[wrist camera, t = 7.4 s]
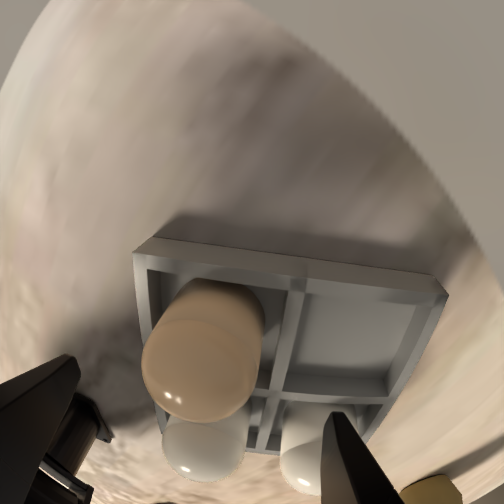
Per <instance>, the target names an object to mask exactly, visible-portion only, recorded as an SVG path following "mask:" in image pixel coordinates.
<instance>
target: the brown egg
mask: <svg viewBox="0 0 504 504" xmlns="http://www.w3.org/2000/svg"><path fill="white" fill-rule="evenodd" d="M264 329H265V313H264V309H263V307H262V305H261V303H260V301H259V299H258V298H257V297H256V296H255V294H254V293H253V292H252V291H251V290H249V289H248V288H247V287H246V286H244V285H243V284H237V283H231V282H224V281H218V280H211V279H205V278H195V279H193V280H191V281H189V282H187V283H186V284H185V285H184V286H182V287H181V289H180V290H179V291H178V293H177V294H176V296H175V297H174V299H173V300H172V302H171V303H170V305H169V306H168V308H167V309H166V311H165V312H164V314H163V315H162V317H161V318H160V320H159V321H158V323H157V325H156V326H155V328H154V329H153V331H152V332H151V334H150V335H149V337H148V339H147V341H146V343H145V346H144V349H143V353H142V360H141V369H142V376H143V380H144V383H145V386H146V388H147V390H148V392H149V394H150V395H151V397H152V398H153V399H154V401H155V402H156V403H157V404H158V405H159V406H160V407H161V408H162V409H163V410H165V411H166V412H167V413H169V414H171V415H172V416H174V417H176V418H178V419H181V420H184V421H188V422H194V423H209V422H215V421H219V420H222V419H224V418H227V417H229V416H230V415H232V414H234V413H235V412H237V411H238V410H239V409H240V408H241V407H242V406H243V405H244V404H245V403H246V402H247V400H248V399H249V398H250V396H251V394H252V392H253V390H254V388H255V385H256V381H257V377H258V370H259V364H260V357H261V350H262V343H263V336H264Z"/></svg>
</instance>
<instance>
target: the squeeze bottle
mask: <svg viewBox="0 0 504 504" xmlns="http://www.w3.org/2000/svg"><path fill="white" fill-rule="evenodd" d="M399 496H400V497H401V498H402V500H403V501H404V503H405V504H463V501H462V494H461V493H460V492H459V490H458V489H457V488H456V487H455V485H454V484H453V483H452V482H451V480H450V479H449V478H448V477H447V476H446V475H437V476H434V477H430V478H427V479H425V480H422V481H419V482H417V483H415V484H413V485H411V486H409V487H407V488H405V489H404V490H402V491H401V492H400V493H399Z"/></svg>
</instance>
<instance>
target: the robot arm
mask: <svg viewBox="0 0 504 504" xmlns="http://www.w3.org/2000/svg"><path fill="white" fill-rule="evenodd" d="M80 377H81V371H80V368H79V366H78V363H77V360H76V358H75V357H74V356H72V355H69V354H63V355H61V356H59V357H57V358H55V359H53V360H51V361H48V362H46V363H44V364H42V365H40V366H38V367H36V368H34V369H32V370H30V371H27V372H25V373H23V374H21V375H19V376H17V377H15V378H13V379H10V380H8V381H6V382H4V383H2V384H0V504H90V502H91V498H92V494H93V491H94V488H93V487H92V486H90V485H88V484H85V483H84V482H82V481H81V480H79V479H78V478H76V477H75V476H76V474H77V472H78V470H79V468H80V466H81V464H82V462H83V461H84V459H85V457H86V455H87V453H88V451H89V450H90V448H91V446H92V444H93V442H94V440H95V439H96V438H97V439H99V440H102V441H104V442H106V443H110V442H111V440H112V439H111V437H110V435H109V433H108V431H107V429H106V427H105V424H104V422H103V420H102V418H101V416H100V414H99V412H98V409H97V407H96V405H95V403H94V402H93V401H91V400H90V399H88V398H85V397H83V396H81V395H78V394H76V393H74V392H75V389H76V387H77V384H78V382H79V380H80ZM39 467H41V468H42V469H43V470H45V471H46V472H47V473H49V474H50V475H51V476H53V477H54V478H55V479H57V480H58V481H60V482H61V483H63V484H64V485H66V486H67V487H69V489H67V488H65V487H64V486H62V485H61V484H60V483H58V482H57V481H55V480H54V479H52V478H51V477H50V476H48V475H47V474H46V473H44V472H43V471H42V470H40V469H39ZM320 480H321V504H405V503H404V501H403V500H402V498H401V497H400V496H399V494H398V493H397V491H396V490H395V489H394V487H393V485H392V484H391V482H390V481H389V479H388V478H387V476H386V475H385V473H384V472H383V470H382V469H381V467H380V466H379V464H378V463H377V461H376V460H375V458H374V457H373V455H372V454H371V452H370V451H369V449H368V448H367V446H366V445H365V443H364V442H363V440H362V439H361V437H360V436H359V434H358V433H357V431H356V430H355V428H354V427H353V425H352V423H351V422H350V420H349V419H348V417H347V416H346V414H345V413H344V412H341V411H332V412H331V413H330V415H329V417H328V419H327V421H326V423H325V425H324V428H323V439H322V453H321V465H320Z"/></svg>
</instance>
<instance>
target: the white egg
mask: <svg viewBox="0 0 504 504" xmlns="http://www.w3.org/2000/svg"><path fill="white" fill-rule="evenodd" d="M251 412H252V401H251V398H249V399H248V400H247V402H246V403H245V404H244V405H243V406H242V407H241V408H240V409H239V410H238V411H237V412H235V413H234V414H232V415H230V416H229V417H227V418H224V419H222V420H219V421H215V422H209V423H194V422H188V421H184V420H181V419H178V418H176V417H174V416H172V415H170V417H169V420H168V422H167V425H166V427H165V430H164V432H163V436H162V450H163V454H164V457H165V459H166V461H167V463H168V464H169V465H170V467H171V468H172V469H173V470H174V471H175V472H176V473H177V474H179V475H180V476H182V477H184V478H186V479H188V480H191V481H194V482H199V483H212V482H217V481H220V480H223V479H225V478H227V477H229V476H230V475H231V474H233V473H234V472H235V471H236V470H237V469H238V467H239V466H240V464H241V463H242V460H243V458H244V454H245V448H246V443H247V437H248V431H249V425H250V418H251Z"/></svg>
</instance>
